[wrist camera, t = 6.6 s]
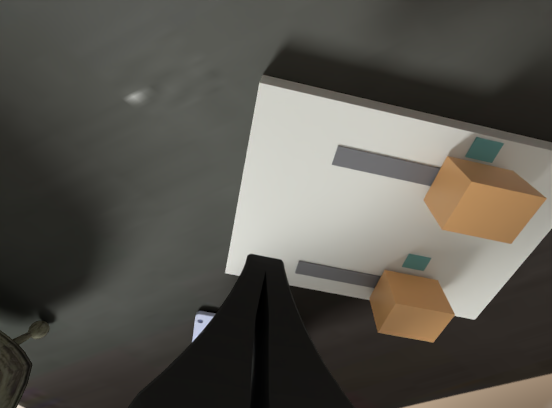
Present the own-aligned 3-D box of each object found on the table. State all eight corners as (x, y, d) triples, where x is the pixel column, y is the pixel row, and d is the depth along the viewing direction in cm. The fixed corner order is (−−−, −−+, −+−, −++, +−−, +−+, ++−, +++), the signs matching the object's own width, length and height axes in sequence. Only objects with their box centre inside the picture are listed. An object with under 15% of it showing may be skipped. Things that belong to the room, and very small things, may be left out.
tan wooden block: (419, 307, 25) (433, 342, 23) (369, 298, 25) (377, 332, 22) (437, 280, 24) (455, 314, 21) (384, 269, 23) (395, 303, 21)
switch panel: (463, 299, 28) (475, 320, 26) (229, 255, 26) (224, 274, 25) (580, 149, 20) (607, 164, 19) (262, 74, 19) (259, 83, 17)
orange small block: (484, 213, 20) (511, 243, 18) (423, 200, 20) (441, 229, 18) (513, 170, 19) (546, 198, 16) (447, 155, 19) (471, 181, 16)
